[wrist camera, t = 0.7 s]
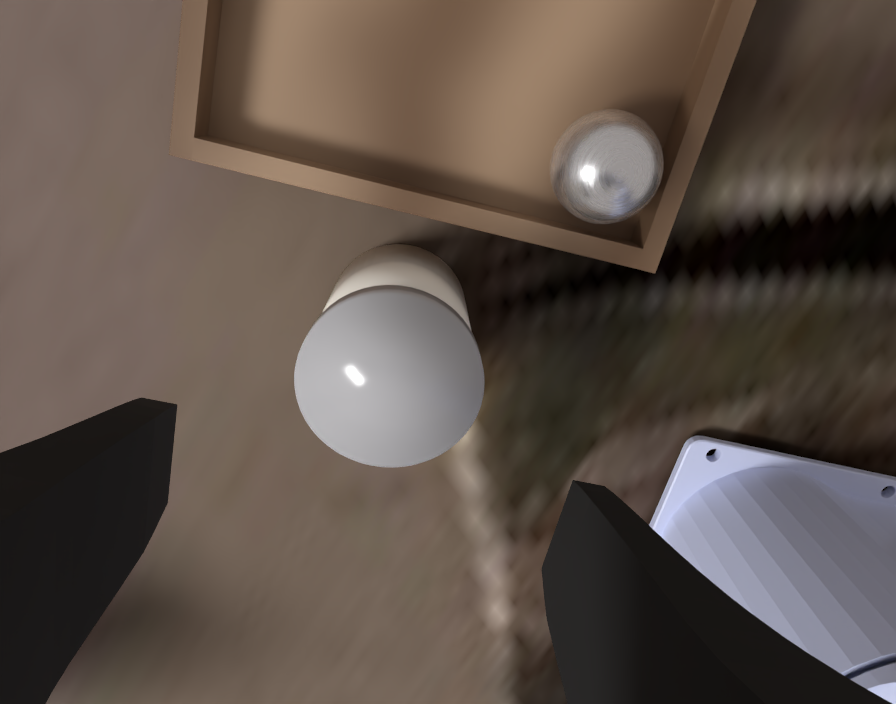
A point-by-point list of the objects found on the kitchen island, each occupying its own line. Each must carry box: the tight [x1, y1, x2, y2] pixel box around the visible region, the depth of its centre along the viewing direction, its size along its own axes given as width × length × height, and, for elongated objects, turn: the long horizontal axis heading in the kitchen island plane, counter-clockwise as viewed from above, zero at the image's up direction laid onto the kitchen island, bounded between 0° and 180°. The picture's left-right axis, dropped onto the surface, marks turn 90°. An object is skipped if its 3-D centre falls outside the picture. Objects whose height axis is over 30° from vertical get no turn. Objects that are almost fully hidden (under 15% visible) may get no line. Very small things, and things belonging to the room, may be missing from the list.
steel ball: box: [550, 109, 664, 224], centre depth 18 cm, size 3×3×3 cm
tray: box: [169, 0, 757, 273], centre depth 17 cm, size 14×11×2 cm
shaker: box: [294, 244, 484, 467], centre depth 18 cm, size 5×5×6 cm
